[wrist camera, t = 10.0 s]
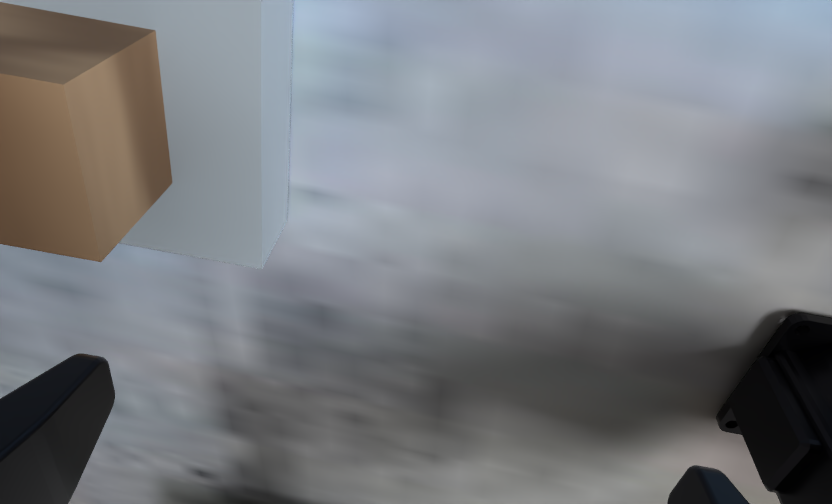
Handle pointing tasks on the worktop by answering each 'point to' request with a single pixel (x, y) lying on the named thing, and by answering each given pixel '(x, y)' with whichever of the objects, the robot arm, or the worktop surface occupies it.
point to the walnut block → (77, 131)
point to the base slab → (214, 121)
